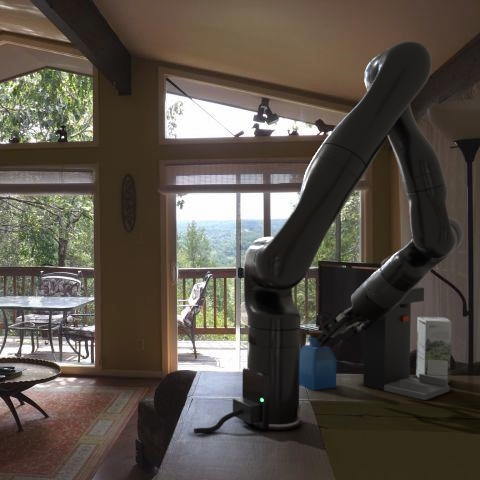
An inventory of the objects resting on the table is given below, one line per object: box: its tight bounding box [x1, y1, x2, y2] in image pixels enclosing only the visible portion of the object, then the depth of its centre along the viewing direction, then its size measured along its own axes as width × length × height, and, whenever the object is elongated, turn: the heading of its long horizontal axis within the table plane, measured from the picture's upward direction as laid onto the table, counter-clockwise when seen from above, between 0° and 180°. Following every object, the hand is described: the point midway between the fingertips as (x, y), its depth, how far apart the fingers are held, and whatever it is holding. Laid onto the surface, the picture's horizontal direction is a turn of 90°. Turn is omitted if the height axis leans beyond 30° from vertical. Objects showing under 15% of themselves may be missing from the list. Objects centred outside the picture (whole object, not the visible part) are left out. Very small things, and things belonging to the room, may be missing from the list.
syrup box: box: [415, 316, 453, 384], centre depth 134 cm, size 6×6×14 cm
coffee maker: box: [362, 286, 451, 401], centre depth 126 cm, size 11×14×22 cm
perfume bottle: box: [299, 329, 338, 391], centre depth 128 cm, size 6×6×12 cm
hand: (330, 341), depth 125 cm, fingers open, 8 cm apart
